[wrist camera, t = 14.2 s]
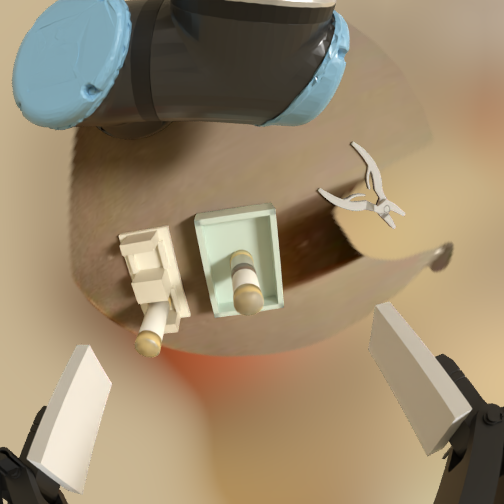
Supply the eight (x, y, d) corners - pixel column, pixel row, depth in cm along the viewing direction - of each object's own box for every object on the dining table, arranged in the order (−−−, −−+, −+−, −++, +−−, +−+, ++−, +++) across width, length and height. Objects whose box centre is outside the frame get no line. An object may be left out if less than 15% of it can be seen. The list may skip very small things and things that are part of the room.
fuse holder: (120, 233, 42) (109, 246, 37) (168, 225, 42) (161, 236, 37) (147, 318, 48) (141, 336, 43) (190, 313, 48) (187, 331, 44)
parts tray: (196, 213, 42) (193, 220, 38) (271, 202, 42) (275, 208, 39) (215, 305, 48) (214, 317, 45) (279, 295, 48) (283, 307, 45)
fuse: (148, 291, 45) (130, 338, 34) (168, 289, 45) (155, 336, 34) (154, 309, 46) (139, 358, 35) (174, 307, 47) (163, 356, 36)
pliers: (356, 140, 38) (416, 198, 43) (352, 140, 40) (411, 196, 44) (319, 193, 41) (383, 244, 45) (315, 191, 42) (379, 241, 47)
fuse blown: (227, 251, 44) (231, 293, 33) (250, 247, 44) (261, 287, 33) (231, 272, 45) (236, 317, 34) (254, 268, 45) (265, 312, 34)
